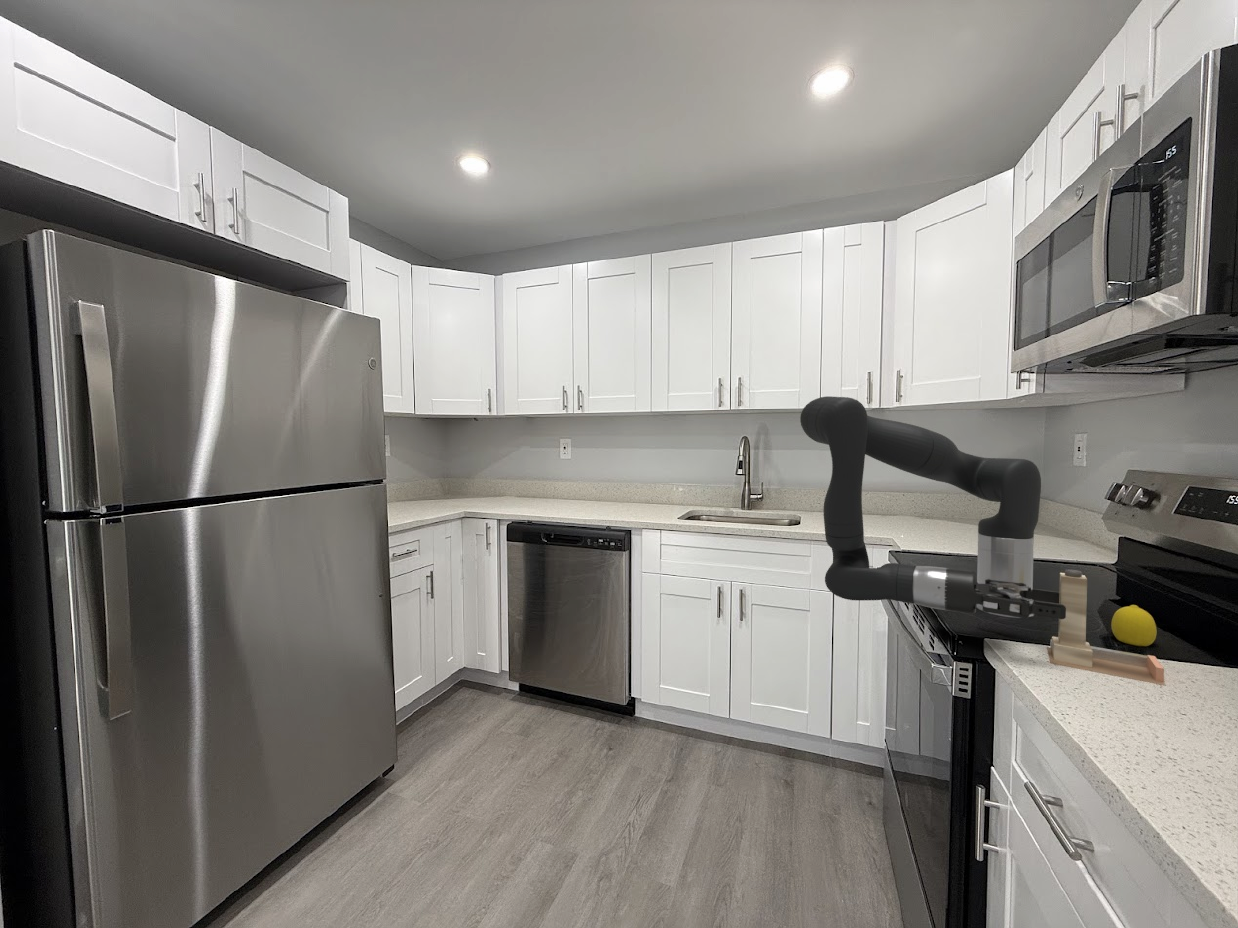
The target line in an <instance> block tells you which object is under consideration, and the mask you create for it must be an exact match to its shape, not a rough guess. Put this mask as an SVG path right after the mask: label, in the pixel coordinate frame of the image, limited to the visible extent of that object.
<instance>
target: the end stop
mask: <svg viewBox="0 0 1238 928" xmlns="http://www.w3.org/2000/svg"><path fill="white" fill-rule="evenodd" d="M1146 656H1147V668H1148V670H1149V671H1150V673H1151V674H1152V676H1153V677H1154V679H1155V680H1156V681H1160V682H1164V683H1165V668H1164V667H1163V665H1162V664H1161V662H1160V661H1159V660H1158V658H1157V657H1156V656H1155V655H1150V654H1147V655H1146Z"/></svg>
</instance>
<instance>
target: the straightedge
mask: <svg viewBox="0 0 1238 928" xmlns="http://www.w3.org/2000/svg"><path fill="white" fill-rule="evenodd" d="M1049 646H1050V647H1049V648H1051V650H1052V638H1051V639H1050V645H1049ZM1090 647H1091V649H1092V651H1093V657H1092V658H1097V659H1102V660H1108V661H1113V662H1119V663H1124V664H1130V665H1135V666H1141V667H1146V668H1147V655H1145V654H1144V655H1143V654H1139V653H1133V652H1128V651H1122V650H1114V649H1108V648H1103V647H1098V646H1094V645H1093V646H1092V645H1090Z"/></svg>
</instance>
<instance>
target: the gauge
mask: <svg viewBox="0 0 1238 928" xmlns="http://www.w3.org/2000/svg"><path fill="white" fill-rule="evenodd" d="M1058 592H1059V604H1063V605H1064V606H1065V607H1066V617H1065V619H1058V633H1057V635H1058V636H1051V639H1052V655H1053V658H1054V660H1055V661H1061V662H1066V663H1071V664H1077V665H1082V666H1087V667H1092V657H1093V651H1092V649H1091V647H1090V646H1091V645H1090V643H1089V642H1087V641H1086V639H1087V637H1086V635H1087V608H1088V607H1087V606H1088V605H1087V601H1088V600H1087V599H1088V598H1087V597H1088V596H1087V595H1088V578H1087V577H1086V575H1083V572H1082V571H1081V570H1076V569H1064V572H1059V591H1058Z"/></svg>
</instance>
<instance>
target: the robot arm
mask: <svg viewBox="0 0 1238 928" xmlns="http://www.w3.org/2000/svg"><path fill="white" fill-rule="evenodd" d="M800 413H801V414H800V417H799V418H800V426H801V428H802V430H803V432H804V433H805V435H806V436H807V437H808V438H809V439H811V440H813V441H814V442H816V443H818V444H823V445H828V447H829V450H830V457H831V461H832V462H831V464H832V465H831V466H832V469H831V471H832V472H831V478H830V481H829V485H828V488H827V491H826V494H825V498H824V501H823V508H822V509H823V512H822V513H823V525H824V533H825V534H824V536H825V541H826V544H827V545H828V547H830V548H831V551H832V563H831V565H830V566H829V567H828V569H827V570H826V572H825V577H824V583H825V586H826V588H827V590H828V591H829V592H831V593H832V594H833V595H835V596H837V597H839V598H841V599H845V600H848V601H882V600H889V601H890V600H891V601H895V602H900V603H908V604H915V605H919V606H922V607H927V608H930V609H936V610H943V611H948V612H956V613H961V614H967V615H975V614H976V612H977V609H978V610H980V611H983V612H984V613H987V614H990V615H995V616H1000V617H1006V618H1013V619H1014V618H1015V619H1020V618H1021V619H1024V620H1026V619H1030V617H1034V616H1038V617H1039V616H1040V617H1045V618H1052V619H1058V620H1059V619H1065V617H1066V607H1065V606H1064V605H1063V604H1059V591H1055V590H1049V589H1041V588H1033V585H1034V584H1033V583H1034V537H1035V529H1036V527H1037V525H1038V523H1039V522H1038V521H1039V514H1040V504H1041V493H1042V477H1041V473H1040V469H1039V468H1038V466H1037V465H1036V464H1035V463H1034V462H1033V461H1032V460H1029V459H1026V458H1025V459H1024V458H1009V457H1008V458H1002V457H1001V458H1000V457H999V458H997V457H996V458H995V457H994V458H993V457H983V456H978V455H975V454H974V455H973V454H970V453H966V452H964V451H961V450H959V448H958V447H957V445H956V444H955V443H954V442H953V441H952V440H951V439H950V438H948V437H947V436H945V435H943V434H941V433H938V432H936V431H933V430H930V429H927V428H925V427H922V426H918V425H914V424H911V423H906V422H901V421H895V420H890V419H886V418H879V417H873V416H870V415H868V413H867V409H866V408H865V406H864V405H863V404H862V403H861V401H859V400H858V399H855V398H852V397H848V396H847V397H846V396H822V397H818V398H815V399H813V400H811V401H809V402H808V403H807V404H806V405H805V406H804V407H803V408H802V410H801V412H800ZM866 456H867V457H870V458H872V459H875V460H876V461H878V462H882V463H883V464H886V465H888V466H891V467H893V468H896V469H898V470H900V471H903V472H905V473H906V472H907V473H910V474H913V475H914V476H918V477H921V478H925V479H929V480H932V481H936V482H940V483H945V484H949V485H951V486H954V487H956V488H958V489H960V490H963V491H964V492H967V493H968V494H970V495H972V496H974V497H977V498H978V499H980V500H981V499H982V500H984V501H989V502H995V503H999V509H998V512H997V513H996V514H995V515H993V516H991V517H986V518H983V519H980V520H979V521H978V526H977V565H976V566H977V570H976V572H975V571H973V570H965V569H957V568H949V567H939V566H932V565H931V566H930V565H913V564H905V563H893V562H888V563H884V564H883V565H881V566H879V567H870V561H869V560H870V559H869V556H868V550H867V546H866V543H865V530H864V517H863V500H862V499H863V498H862V495H863V479H864V470H865V458H866Z"/></svg>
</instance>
